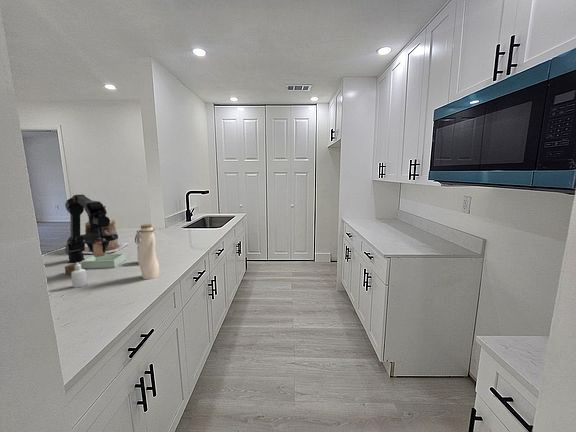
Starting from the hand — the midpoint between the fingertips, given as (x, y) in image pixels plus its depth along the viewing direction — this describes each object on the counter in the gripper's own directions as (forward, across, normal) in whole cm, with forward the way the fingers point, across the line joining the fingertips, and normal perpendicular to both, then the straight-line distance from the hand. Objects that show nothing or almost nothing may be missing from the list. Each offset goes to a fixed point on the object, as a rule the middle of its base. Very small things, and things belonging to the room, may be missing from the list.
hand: (99, 252), depth 147 cm
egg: (+2, 0, 0) cm, 2 cm away
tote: (+11, -5, +14) cm, 18 cm away
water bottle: (+12, +29, -10) cm, 33 cm away
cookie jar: (+12, -23, +48) cm, 55 cm away
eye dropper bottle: (+12, 0, -18) cm, 22 cm away
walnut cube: (+11, -14, 0) cm, 18 cm away
